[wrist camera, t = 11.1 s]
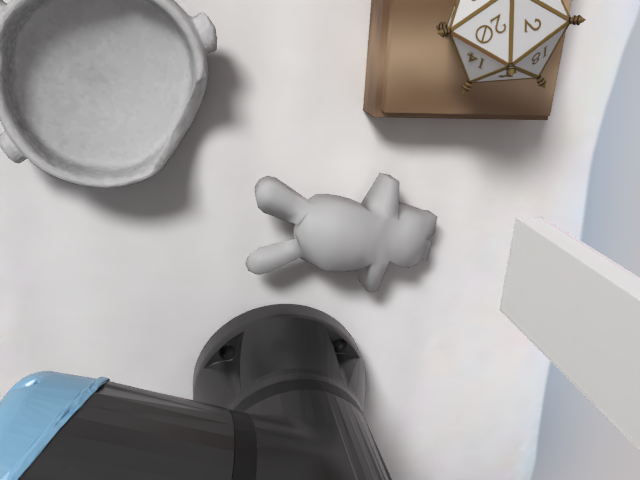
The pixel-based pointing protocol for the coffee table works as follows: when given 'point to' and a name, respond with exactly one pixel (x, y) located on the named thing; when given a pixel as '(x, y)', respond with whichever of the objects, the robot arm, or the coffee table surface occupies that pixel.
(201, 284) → the coffee table surface
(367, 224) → the grey teddy bear
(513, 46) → the game die
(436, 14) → the plinth
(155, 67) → the dish
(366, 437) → the robot arm
